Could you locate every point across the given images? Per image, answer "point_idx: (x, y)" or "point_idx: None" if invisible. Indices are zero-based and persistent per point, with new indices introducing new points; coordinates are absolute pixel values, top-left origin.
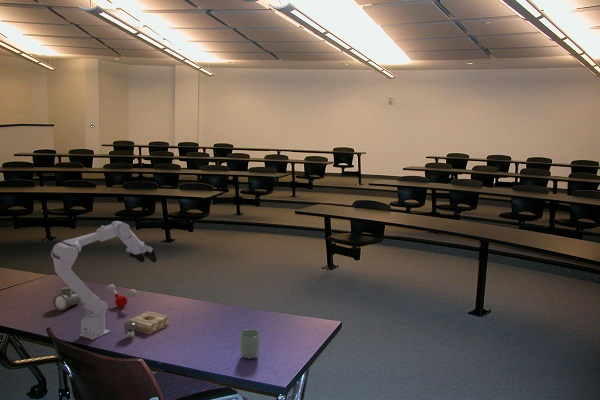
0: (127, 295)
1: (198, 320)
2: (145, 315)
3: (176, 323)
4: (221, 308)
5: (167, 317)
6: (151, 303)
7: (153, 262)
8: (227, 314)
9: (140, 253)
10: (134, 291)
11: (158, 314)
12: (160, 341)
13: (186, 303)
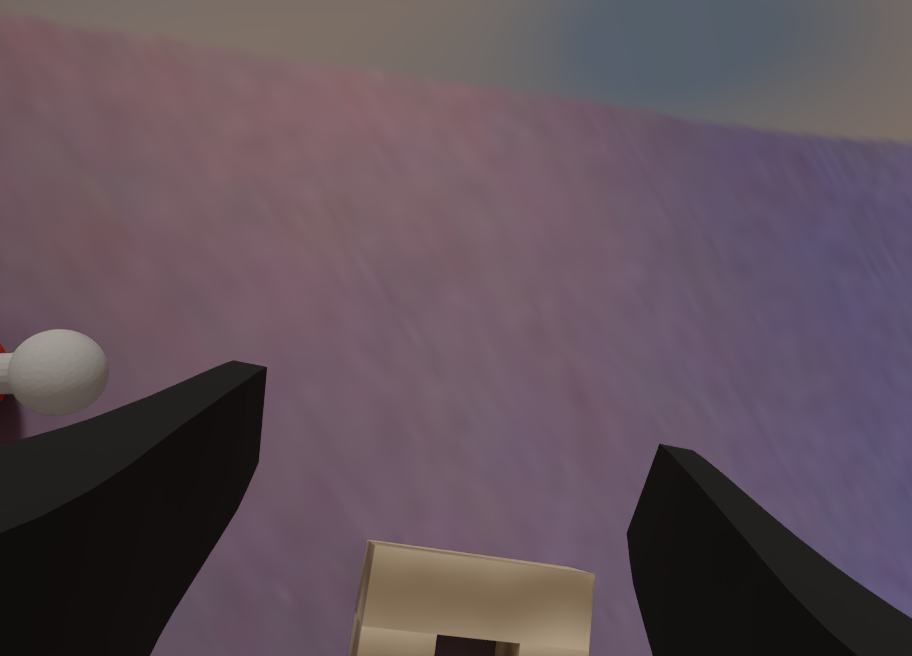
0: (8, 390)
1: (694, 410)
2: (410, 649)
3: (598, 519)
4: (707, 175)
5: (591, 589)
6: (201, 230)
7: (633, 553)
8: (788, 255)
9: (150, 477)
10: (87, 375)
11: (499, 576)
12: None
13: (458, 156)
